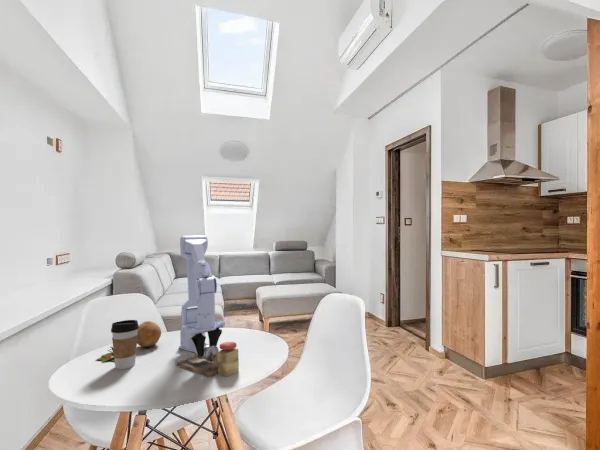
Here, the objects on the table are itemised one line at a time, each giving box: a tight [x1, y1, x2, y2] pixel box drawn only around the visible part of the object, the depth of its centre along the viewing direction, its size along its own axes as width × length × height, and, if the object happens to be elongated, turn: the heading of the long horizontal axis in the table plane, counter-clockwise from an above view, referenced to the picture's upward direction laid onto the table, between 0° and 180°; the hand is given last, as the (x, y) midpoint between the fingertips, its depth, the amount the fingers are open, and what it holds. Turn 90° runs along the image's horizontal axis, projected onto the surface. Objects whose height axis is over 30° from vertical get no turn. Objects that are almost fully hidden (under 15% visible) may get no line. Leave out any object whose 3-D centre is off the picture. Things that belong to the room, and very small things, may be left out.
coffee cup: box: [110, 319, 140, 370], centre depth 108 cm, size 8×8×15 cm
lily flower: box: [96, 346, 115, 363], centre depth 117 cm, size 12×12×5 cm
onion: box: [137, 320, 162, 348], centre depth 128 cm, size 10×10×10 cm
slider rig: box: [175, 341, 240, 378], centre depth 106 cm, size 22×11×9 cm, turn 55°
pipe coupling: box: [194, 342, 220, 362], centre depth 107 cm, size 6×5×5 cm
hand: (206, 353), depth 107 cm, fingers closed on pipe coupling, 4 cm apart
